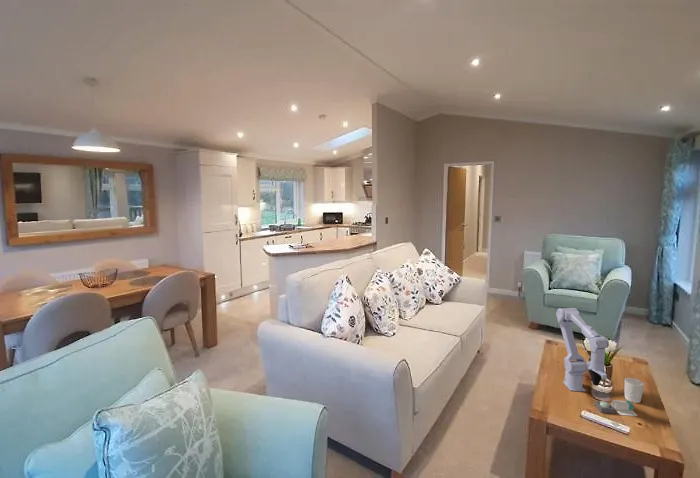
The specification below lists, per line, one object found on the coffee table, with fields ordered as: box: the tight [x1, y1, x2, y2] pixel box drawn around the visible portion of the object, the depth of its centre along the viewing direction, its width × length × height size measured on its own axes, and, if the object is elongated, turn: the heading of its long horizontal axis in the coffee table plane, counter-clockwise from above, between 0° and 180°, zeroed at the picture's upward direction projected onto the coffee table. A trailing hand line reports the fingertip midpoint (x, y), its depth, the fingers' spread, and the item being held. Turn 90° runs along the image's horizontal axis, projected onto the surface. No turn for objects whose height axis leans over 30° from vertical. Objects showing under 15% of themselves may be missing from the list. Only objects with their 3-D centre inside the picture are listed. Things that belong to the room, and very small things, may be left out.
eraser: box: [611, 399, 635, 412], centre depth 180 cm, size 8×3×3 cm, turn 84°
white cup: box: [623, 377, 645, 404], centre depth 188 cm, size 8×8×10 cm
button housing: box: [594, 400, 616, 414], centre depth 180 cm, size 6×6×2 cm
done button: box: [600, 400, 610, 408], centre depth 180 cm, size 4×4×3 cm
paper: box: [611, 404, 639, 417], centre depth 179 cm, size 8×8×1 cm
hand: (595, 384), depth 184 cm, fingers closed
